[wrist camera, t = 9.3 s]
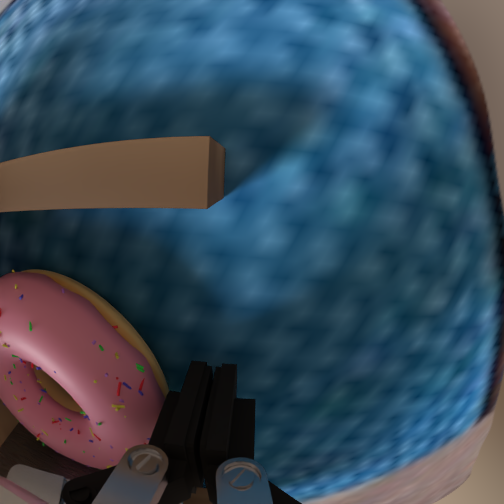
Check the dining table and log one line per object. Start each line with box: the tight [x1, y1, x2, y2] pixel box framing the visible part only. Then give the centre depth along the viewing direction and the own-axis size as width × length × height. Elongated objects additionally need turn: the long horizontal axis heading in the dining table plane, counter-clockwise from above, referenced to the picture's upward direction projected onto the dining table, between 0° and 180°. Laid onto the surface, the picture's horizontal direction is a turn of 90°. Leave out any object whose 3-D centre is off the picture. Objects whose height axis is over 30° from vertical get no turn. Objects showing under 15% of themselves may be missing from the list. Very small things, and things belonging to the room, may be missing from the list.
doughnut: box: [0, 269, 169, 469], centre depth 9 cm, size 11×11×4 cm
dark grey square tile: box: [0, 422, 103, 480], centre depth 8 cm, size 1×11×11 cm, turn 87°
